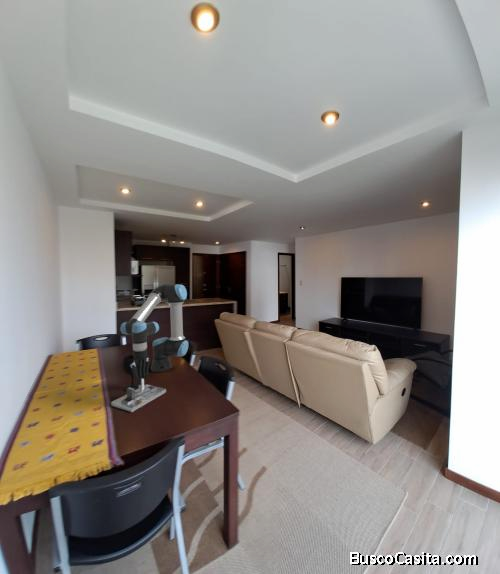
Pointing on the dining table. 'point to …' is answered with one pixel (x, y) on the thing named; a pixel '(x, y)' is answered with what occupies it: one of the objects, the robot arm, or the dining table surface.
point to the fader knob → (130, 393)
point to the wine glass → (129, 371)
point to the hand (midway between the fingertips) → (141, 389)
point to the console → (138, 398)
